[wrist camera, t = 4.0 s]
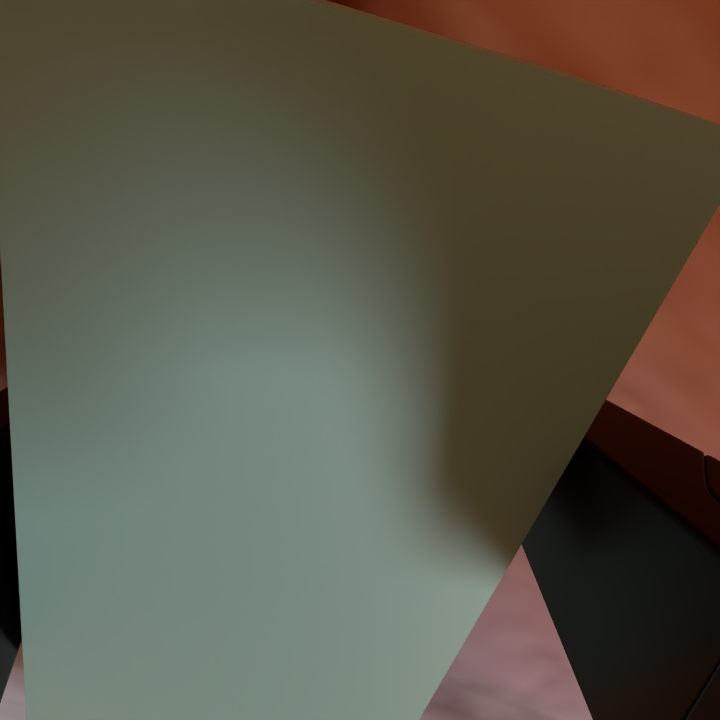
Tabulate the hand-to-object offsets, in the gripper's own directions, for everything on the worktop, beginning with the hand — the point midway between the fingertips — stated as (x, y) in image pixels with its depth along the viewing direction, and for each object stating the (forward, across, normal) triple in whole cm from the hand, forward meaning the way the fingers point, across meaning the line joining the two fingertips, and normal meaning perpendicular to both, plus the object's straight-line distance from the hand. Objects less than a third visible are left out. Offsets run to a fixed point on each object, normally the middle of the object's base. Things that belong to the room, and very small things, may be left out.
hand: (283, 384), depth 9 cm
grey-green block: (+1, 0, 0) cm, 1 cm away
